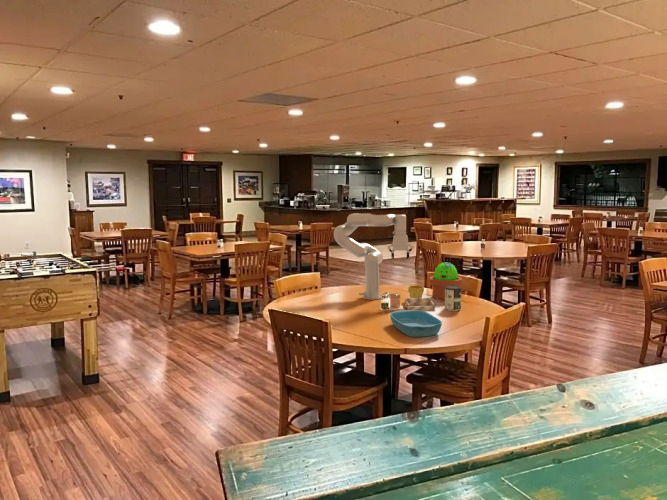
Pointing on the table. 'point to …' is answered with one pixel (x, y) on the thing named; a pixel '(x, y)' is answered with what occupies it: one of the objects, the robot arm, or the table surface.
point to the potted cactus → (444, 279)
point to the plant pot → (415, 291)
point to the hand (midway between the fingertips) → (400, 258)
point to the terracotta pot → (395, 300)
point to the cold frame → (419, 304)
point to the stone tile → (397, 308)
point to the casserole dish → (416, 323)
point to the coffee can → (453, 298)
